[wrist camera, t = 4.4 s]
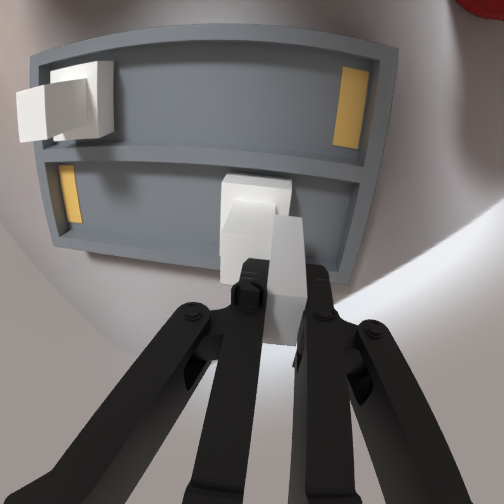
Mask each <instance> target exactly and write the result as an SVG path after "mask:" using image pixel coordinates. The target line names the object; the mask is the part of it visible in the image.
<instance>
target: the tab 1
mask: <svg viewBox="0 0 504 504" xmlns="http://www.w3.org/2000/svg"><path fill="white" fill-rule="evenodd" d="M113 74H114V61H94V62H89V63H84V64H79V65H75V66H70V67H66V68H62V69H58V70H54V71H50V84H45V85H41V86H37V87H33V88H30V89H26V90H23V91H19V92H16V97H17V115H18V127H19V137H20V143H22V142H29V141H37V140H47V139H50V138H52V137H53V139H54V141H63V140H76V139H93V138H100V137H103V136H105V135H107V134H110V133H112V132H114V107H113Z"/></svg>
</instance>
